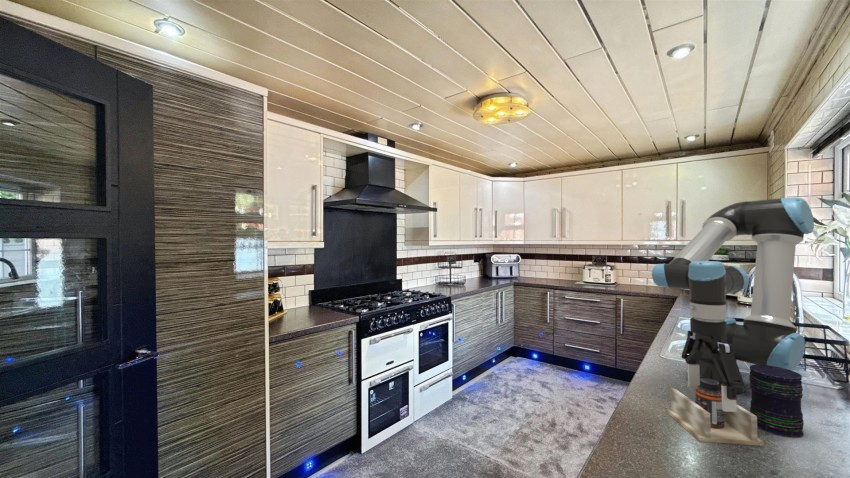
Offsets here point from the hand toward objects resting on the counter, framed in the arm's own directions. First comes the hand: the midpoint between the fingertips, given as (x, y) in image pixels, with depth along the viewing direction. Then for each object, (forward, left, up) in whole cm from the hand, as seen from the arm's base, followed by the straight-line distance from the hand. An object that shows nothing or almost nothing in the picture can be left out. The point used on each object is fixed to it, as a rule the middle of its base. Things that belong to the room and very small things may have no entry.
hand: (710, 398), depth 90 cm
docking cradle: (0, 0, -7) cm, 8 cm away
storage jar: (-17, -2, -8) cm, 18 cm away
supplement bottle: (0, 0, -7) cm, 7 cm away
